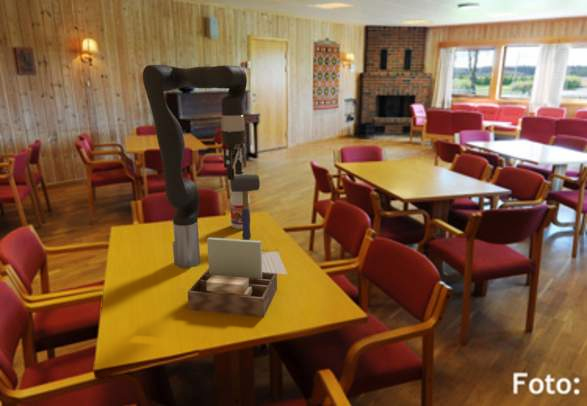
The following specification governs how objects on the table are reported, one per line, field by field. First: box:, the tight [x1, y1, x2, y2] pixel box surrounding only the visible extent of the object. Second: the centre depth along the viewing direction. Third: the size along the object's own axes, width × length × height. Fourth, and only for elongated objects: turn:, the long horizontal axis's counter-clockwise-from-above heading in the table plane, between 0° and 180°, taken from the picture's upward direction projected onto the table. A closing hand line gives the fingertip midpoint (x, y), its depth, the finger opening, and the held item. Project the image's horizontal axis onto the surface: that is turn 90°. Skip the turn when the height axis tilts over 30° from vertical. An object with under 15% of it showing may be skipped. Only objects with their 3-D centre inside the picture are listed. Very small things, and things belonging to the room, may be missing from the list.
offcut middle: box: [210, 287, 252, 296], centre depth 136 cm, size 12×5×3 cm, turn 79°
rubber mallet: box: [229, 174, 261, 240], centre depth 194 cm, size 12×8×30 cm, turn 105°
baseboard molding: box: [262, 249, 288, 275], centre depth 166 cm, size 31×3×12 cm
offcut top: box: [206, 275, 249, 294], centre depth 135 cm, size 12×5×3 cm, turn 79°
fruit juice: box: [229, 169, 251, 230], centre depth 212 cm, size 9×9×28 cm
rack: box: [187, 267, 278, 318], centre depth 141 cm, size 24×18×8 cm
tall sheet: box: [206, 237, 263, 279], centre depth 145 cm, size 18×2×18 cm, turn 79°
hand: (235, 177), depth 148 cm, fingers open, 8 cm apart
